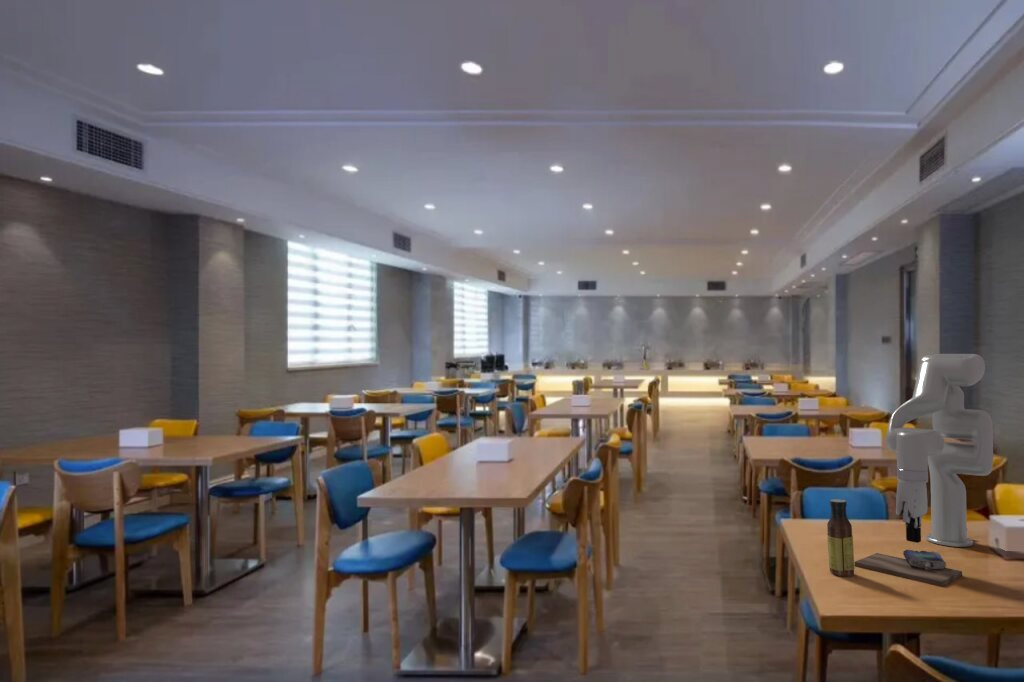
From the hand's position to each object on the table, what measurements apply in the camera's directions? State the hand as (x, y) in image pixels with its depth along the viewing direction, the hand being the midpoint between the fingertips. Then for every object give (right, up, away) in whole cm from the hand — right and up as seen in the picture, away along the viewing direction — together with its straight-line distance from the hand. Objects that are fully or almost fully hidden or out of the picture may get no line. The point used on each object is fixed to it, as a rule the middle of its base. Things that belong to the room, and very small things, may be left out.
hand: (913, 541), depth 189 cm
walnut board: (-4, -7, -3) cm, 9 cm away
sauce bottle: (-23, -7, -6) cm, 25 cm away
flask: (+4, -5, +3) cm, 7 cm away
